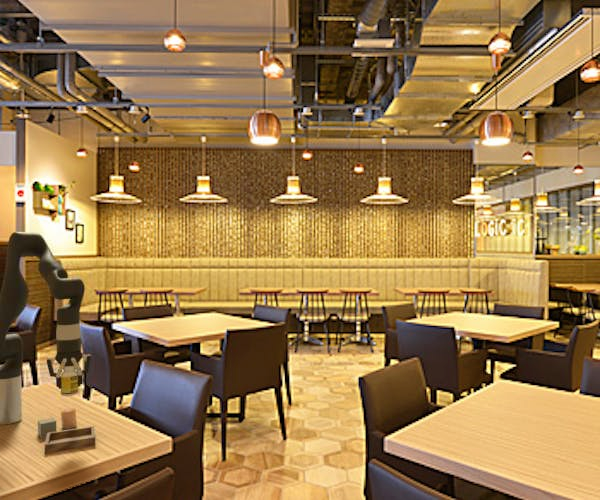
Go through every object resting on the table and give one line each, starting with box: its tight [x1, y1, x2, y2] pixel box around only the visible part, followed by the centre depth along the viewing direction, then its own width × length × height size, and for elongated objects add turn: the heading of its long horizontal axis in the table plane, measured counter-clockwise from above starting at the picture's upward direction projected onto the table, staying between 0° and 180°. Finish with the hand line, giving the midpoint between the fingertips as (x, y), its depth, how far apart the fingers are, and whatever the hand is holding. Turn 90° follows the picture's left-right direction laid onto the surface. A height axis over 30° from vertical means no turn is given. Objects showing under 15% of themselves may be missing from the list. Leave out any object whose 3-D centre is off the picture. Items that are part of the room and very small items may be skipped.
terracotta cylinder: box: [60, 407, 77, 430], centre depth 187 cm, size 5×5×6 cm
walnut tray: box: [44, 425, 96, 455], centre depth 171 cm, size 15×12×3 cm
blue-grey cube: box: [37, 417, 58, 439], centre depth 180 cm, size 5×5×5 cm
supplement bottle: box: [60, 366, 79, 397], centre depth 171 cm, size 5×5×10 cm
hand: (69, 386), depth 171 cm, fingers closed on supplement bottle, 5 cm apart
